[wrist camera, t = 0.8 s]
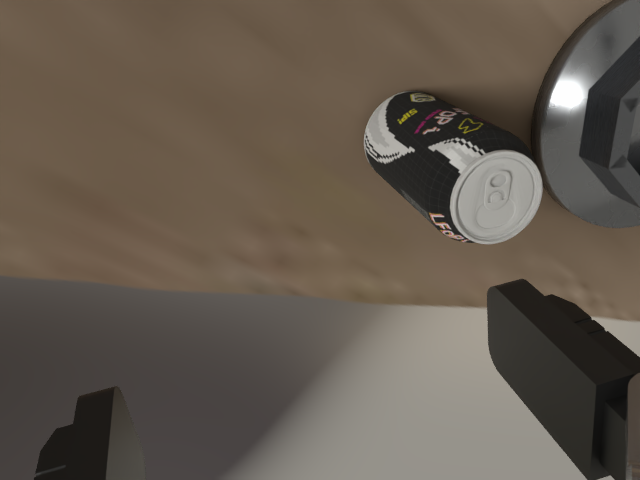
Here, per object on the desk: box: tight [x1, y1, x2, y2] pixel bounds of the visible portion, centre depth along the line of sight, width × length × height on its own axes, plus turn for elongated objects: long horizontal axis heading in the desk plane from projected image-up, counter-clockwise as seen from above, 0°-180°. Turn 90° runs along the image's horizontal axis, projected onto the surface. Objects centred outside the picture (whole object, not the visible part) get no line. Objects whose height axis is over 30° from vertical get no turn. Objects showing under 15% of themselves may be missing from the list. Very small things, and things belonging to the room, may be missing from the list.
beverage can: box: [364, 91, 543, 244], centre depth 33 cm, size 6×6×12 cm
